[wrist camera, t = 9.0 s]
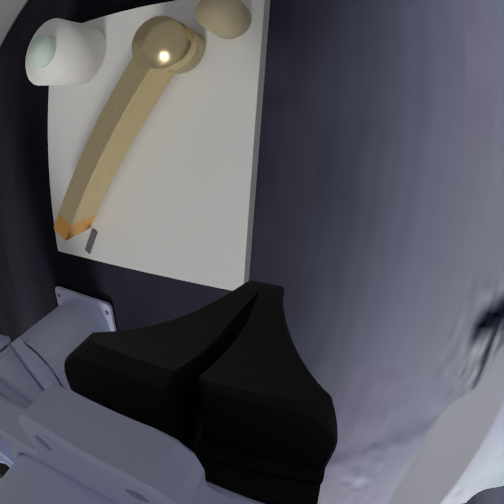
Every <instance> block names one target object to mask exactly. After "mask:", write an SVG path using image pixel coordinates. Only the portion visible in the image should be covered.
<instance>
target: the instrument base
mask: <svg viewBox="0 0 504 504" xmlns="http://www.w3.org/2000/svg"><path fill="white" fill-rule="evenodd" d="M269 12H270V0H176V1H170V2H164V3H159V4H153V5H148V6H144V7H139V8H135V9H130V10H126V11H122V12H118V13H114V14H111V15H107V16H104V17H100V18H97V19H94V20H90V21H87V22H84V23H78V22H73V21H68V20H64V19H59V18H55V19H51V20H49V21H47V22H45V23H44V24H43V25H42V26H41V27H40V28H39V29H38V30H37V31H36V33H35V34H34V36H33V38H32V40H31V42H30V44H29V47H28V50H27V54H26V63H25V65H26V73H27V76H28V78H29V80H30V81H31V82H32V83H33V84H34V85H39V86H41V85H49V98H48V159H49V177H50V190H51V201H52V211H53V219H54V225H55V222H56V219H57V216H58V213H59V210H60V207H61V204H62V202H63V199H64V196H65V193H66V191H67V188H68V186H69V183H70V180H71V178H72V175H73V173H74V171H75V168H76V166H77V163H78V161H79V159H80V156H81V154H82V152H83V150H84V147H85V145H86V143H87V141H88V139H89V136H90V134H91V132H92V130H93V128H94V126H95V124H96V122H97V120H98V118H99V116H100V114H101V112H102V110H103V108H104V106H105V104H106V102H107V101H108V99H109V97H110V95H111V93H112V91H113V90H114V88H115V86H116V84H117V83H118V81H119V79H120V77H121V76H122V74H123V72H124V71H125V69H126V67H127V66H128V64H129V62H130V61H131V59H132V57H133V54H132V41H133V37H134V35H135V33H136V31H137V30H138V28H139V27H140V26H141V25H142V24H143V23H144V22H145V21H147V20H149V19H150V18H153V17H155V16H161V15H164V16H169V17H172V18H174V19H175V20H177V21H179V22H181V23H183V24H185V25H187V26H188V27H190V28H192V29H194V30H196V31H197V32H198V33H200V34H201V36H202V37H203V39H204V43H205V52H204V55H203V58H202V60H201V61H200V63H199V64H198V65H197V66H196V67H195V68H194V69H192V70H190V71H189V72H186V73H182V74H175V75H174V77H173V78H172V80H171V81H170V83H169V84H168V86H167V87H166V89H165V90H164V92H163V93H162V95H161V96H160V98H159V100H158V101H157V103H156V104H155V106H154V108H153V109H152V111H151V112H150V114H149V116H148V117H147V119H146V121H145V122H144V124H143V126H142V127H141V129H140V131H139V133H138V134H137V136H136V138H135V140H134V141H133V143H132V145H131V147H130V149H129V150H128V152H127V154H126V156H125V158H124V160H123V162H122V163H121V165H120V167H119V169H118V171H117V173H116V175H115V177H114V179H113V181H112V183H111V185H110V187H109V189H108V191H107V193H106V195H105V197H104V199H103V201H102V204H101V206H100V208H99V210H98V212H97V214H96V217H95V219H94V221H93V223H92V226H91V228H89V229H87V230H85V231H84V232H82V233H80V234H78V235H76V236H74V237H72V238H70V239H68V240H66V241H65V240H64V239H63V238H62V237H61V236H60V235H59V234H58V233H57V231H56V230H55V234H56V241H57V248H58V251H60V252H64V253H68V254H72V255H76V256H80V257H84V258H88V259H92V260H96V261H100V262H104V263H109V264H113V265H117V266H121V267H125V268H130V269H134V270H138V271H143V272H147V273H152V274H156V275H161V276H165V277H170V278H174V279H179V280H183V281H188V282H193V283H198V284H202V285H207V286H212V287H217V288H222V289H227V290H232V291H233V290H235V289H237V288H238V287H240V286H241V285H243V284H244V283H246V282H248V281H249V272H250V259H251V245H252V232H253V219H254V206H255V193H256V180H257V167H258V154H259V141H260V128H261V115H262V102H263V89H264V76H265V63H266V50H267V37H268V25H269Z"/></svg>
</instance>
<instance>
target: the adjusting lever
mask: <svg viewBox="0 0 504 504" xmlns="http://www.w3.org/2000/svg"><path fill="white" fill-rule="evenodd" d="M204 52H205V43H204V39H203V37H202V36H201V34H200V33H198V32H197V31H196V30H194V29H192V28H190V27H188V26H187V25H185V24H183V23H181V22H179V21H177V20H175V19H174V18H172V17H169V16H164V15H161V16H155V17H153V18H150V19H149V20H147V21H145V22H144V23H143V24H142V25H141V26H140V27H139V28H138V30H137V31H136V33H135V35H134V37H133V41H132V54H133V57H132V59H131V61H130V62H129V64H128V66H127V67H126V69H125V71H124V72H123V74H122V76H121V77H120V79H119V81H118V83H117V84H116V86H115V88H114V90H113V91H112V93H111V95H110V97H109V99H108V101H107V102H106V104H105V106H104V108H103V110H102V112H101V114H100V116H99V118H98V120H97V122H96V124H95V126H94V128H93V130H92V132H91V134H90V136H89V139H88V141H87V143H86V145H85V147H84V150H83V152H82V154H81V156H80V159H79V161H78V163H77V166H76V168H75V171H74V173H73V175H72V178H71V180H70V183H69V186H68V188H67V191H66V193H65V196H64V199H63V202H62V204H61V207H60V210H59V213H58V216H57V219H56V222H55V225H54V229H55V230H56V231H57V233H58V234H59V235H60V236H61V237H62V238H63V239H64V240H65V241H66V240H68V239H70V238H72V237H74V236H76V235H78V234H80V233H82V232H84V231H85V230H87V229H89V228H91V226H92V223H93V221H94V219H95V217H96V214H97V212H98V210H99V208H100V206H101V204H102V201H103V199H104V197H105V195H106V193H107V191H108V189H109V187H110V185H111V183H112V181H113V179H114V177H115V175H116V173H117V171H118V169H119V167H120V165H121V163H122V162H123V160H124V158H125V156H126V154H127V152H128V150H129V149H130V147H131V145H132V143H133V141H134V140H135V138H136V136H137V134H138V133H139V131H140V129H141V127H142V126H143V124H144V122H145V121H146V119H147V117H148V116H149V114H150V112H151V111H152V109H153V108H154V106H155V104H156V103H157V101H158V100H159V98H160V96H161V95H162V93H163V92H164V90H165V89H166V87H167V86H168V84H169V83H170V81H171V80H172V78H173V77H174V75H175V74H182V73H186V72H189V71H190V70H192V69H194V68H195V67H196V66H197V65H198V64H199V63H200V61H201V60H202V58H203V55H204Z"/></svg>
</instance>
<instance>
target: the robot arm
mask: <svg viewBox="0 0 504 504" xmlns="http://www.w3.org/2000/svg"><path fill="white" fill-rule="evenodd" d="M55 292H56V296H57V300H58V304H59V306H58V307H57V308H56V309H54V310H53V311H52V312H50V313H49V314H48V315H47V316H45V317H44V318H43V319H41V320H40V321H39V322H38V323H36V324H35V325H34V326H33V327H31V328H30V329H29V330H28V331H26V332H25V333H24V334H23V335H21V336H20V337H18V338H17V339H15V340H14V341H12V342H11V343H10V344H9V342H10V341H11V339H10V338H9V336H4V335H0V463H4V464H6V465H8V466H9V467H10V469H9V470H8V471H7V472H6V473H5V475H4V476H3V477H2V478H1V479H0V504H317V502H318V496H319V490H320V484H321V483H322V482H323V478H324V472H325V467H326V465H327V463H328V462H329V460H330V458H331V456H332V454H333V452H334V450H335V448H336V444H337V437H338V433H337V421H336V415H335V410H334V405H333V401H332V398H331V396H330V395H329V394H328V393H327V392H326V391H325V390H324V389H323V388H322V387H321V386H320V385H319V384H318V383H317V381H316V380H315V379H314V377H313V376H312V375H311V373H310V372H309V371H308V369H307V367H306V366H305V364H304V363H303V361H302V359H301V358H300V356H299V354H298V352H297V350H296V348H295V346H294V343H293V341H292V339H291V336H290V333H289V330H288V327H287V323H286V319H285V314H284V309H283V297H284V288H283V287H282V286H278V285H272V284H267V283H261V282H256V281H250V280H249V281H248V282H246V283H244V284H243V285H241V286H240V287H238V288H237V289H235V290H233V291H232V292H230V293H229V294H227V295H225V296H224V297H222V298H220V299H219V300H217V301H215V302H213V303H211V304H209V305H207V306H205V307H203V308H201V309H199V310H197V311H195V312H193V313H190V314H188V315H185V316H182V317H180V318H177V319H174V320H171V321H167V322H163V323H160V324H156V325H152V326H148V327H143V328H137V329H131V330H123V331H116V326H115V321H114V315H113V309H112V306H111V304H110V303H108V302H106V301H102V300H99V299H96V298H93V297H90V296H87V295H84V294H81V293H78V292H75V291H72V290H69V289H66V288H63V287H60V286H57V287H56V288H55ZM464 504H504V486H502V487H496V488H490V489H486V490H483V491H481V492H479V493H477V494H476V495H474V496H473V497H472V498H471V499H470V500H468V502H467V503H464Z"/></svg>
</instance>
